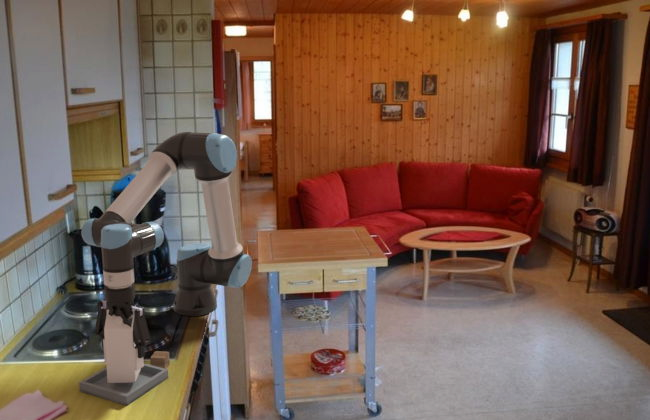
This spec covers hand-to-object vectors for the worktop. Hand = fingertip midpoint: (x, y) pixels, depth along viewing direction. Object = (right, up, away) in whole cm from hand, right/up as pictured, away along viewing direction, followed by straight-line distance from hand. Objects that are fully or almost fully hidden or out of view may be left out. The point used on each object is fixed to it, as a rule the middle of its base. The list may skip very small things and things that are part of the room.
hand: (124, 364), depth 161 cm
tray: (0, -6, +1) cm, 6 cm away
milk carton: (0, -4, +1) cm, 4 cm away
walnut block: (+7, -4, +11) cm, 13 cm away
